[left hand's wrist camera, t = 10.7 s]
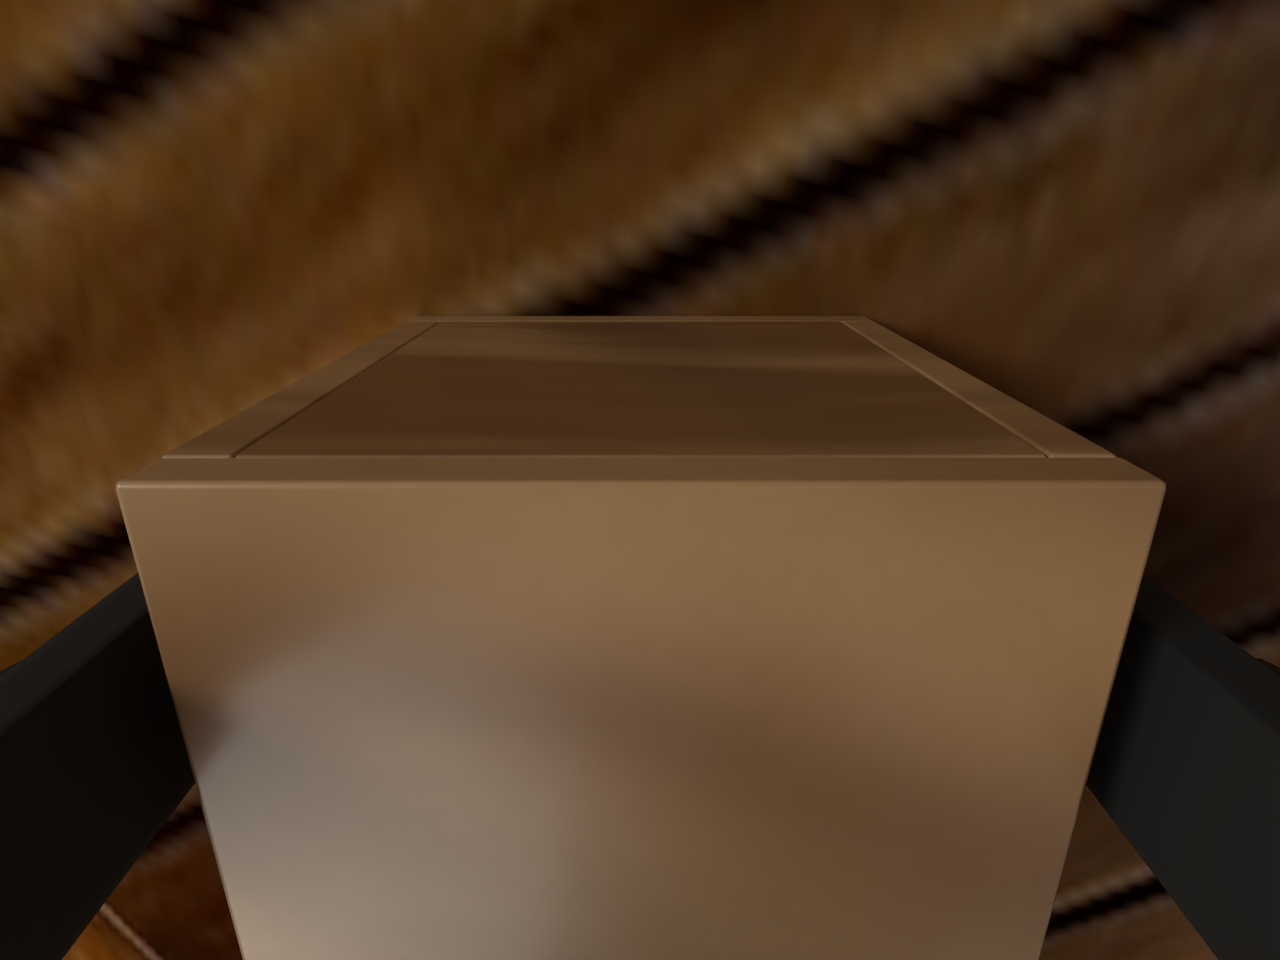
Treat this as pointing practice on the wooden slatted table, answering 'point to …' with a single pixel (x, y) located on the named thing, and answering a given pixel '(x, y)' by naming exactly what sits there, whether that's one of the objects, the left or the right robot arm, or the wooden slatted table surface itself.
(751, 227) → the wooden slatted table surface
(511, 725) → the cabinet
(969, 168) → the wooden slatted table surface
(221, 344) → the wooden slatted table surface
